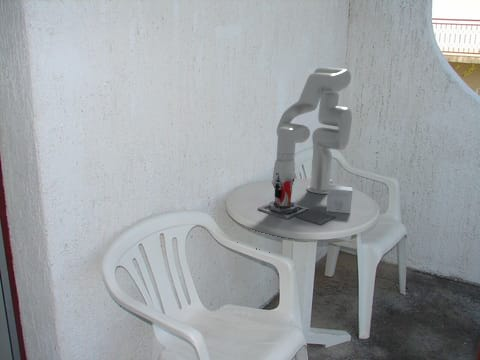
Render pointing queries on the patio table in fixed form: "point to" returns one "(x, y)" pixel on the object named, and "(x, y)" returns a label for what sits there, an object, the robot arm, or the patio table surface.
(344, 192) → the skincare box
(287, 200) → the soda can
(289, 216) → the collar
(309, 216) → the mat
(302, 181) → the patio table surface
